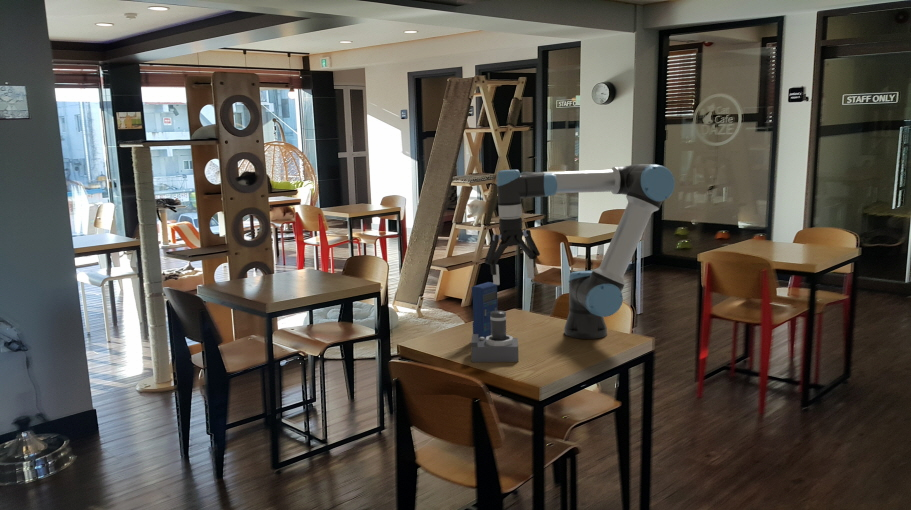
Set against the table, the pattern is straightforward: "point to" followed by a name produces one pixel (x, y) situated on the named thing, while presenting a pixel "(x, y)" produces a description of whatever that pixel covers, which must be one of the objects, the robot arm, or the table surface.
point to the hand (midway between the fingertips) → (513, 281)
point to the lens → (498, 325)
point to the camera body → (494, 349)
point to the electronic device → (483, 307)
